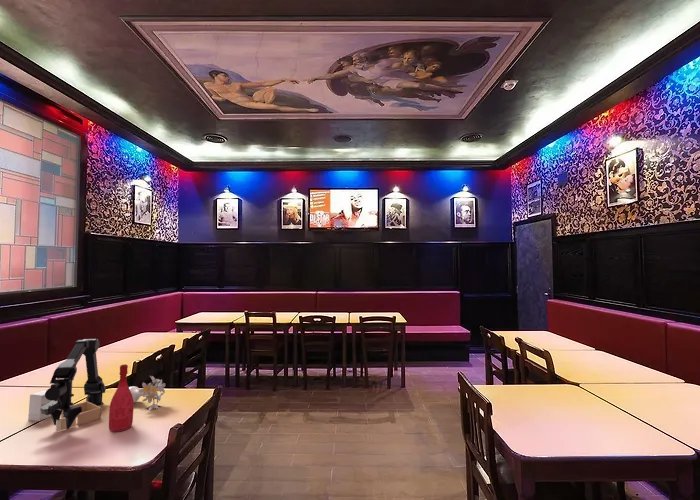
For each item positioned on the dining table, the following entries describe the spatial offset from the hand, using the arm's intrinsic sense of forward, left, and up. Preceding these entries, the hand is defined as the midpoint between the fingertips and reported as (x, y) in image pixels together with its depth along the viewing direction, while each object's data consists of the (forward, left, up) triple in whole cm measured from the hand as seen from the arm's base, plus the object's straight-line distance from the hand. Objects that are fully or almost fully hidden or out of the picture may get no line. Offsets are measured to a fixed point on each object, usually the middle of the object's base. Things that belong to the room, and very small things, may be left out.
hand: (61, 427), depth 165 cm
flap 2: (-2, -1, -2) cm, 3 cm away
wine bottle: (-17, +19, -2) cm, 25 cm away
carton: (-12, -9, -2) cm, 15 cm away
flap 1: (-6, -13, -2) cm, 15 cm away
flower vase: (-38, -1, -2) cm, 38 cm away
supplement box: (-1, -27, -2) cm, 27 cm away
